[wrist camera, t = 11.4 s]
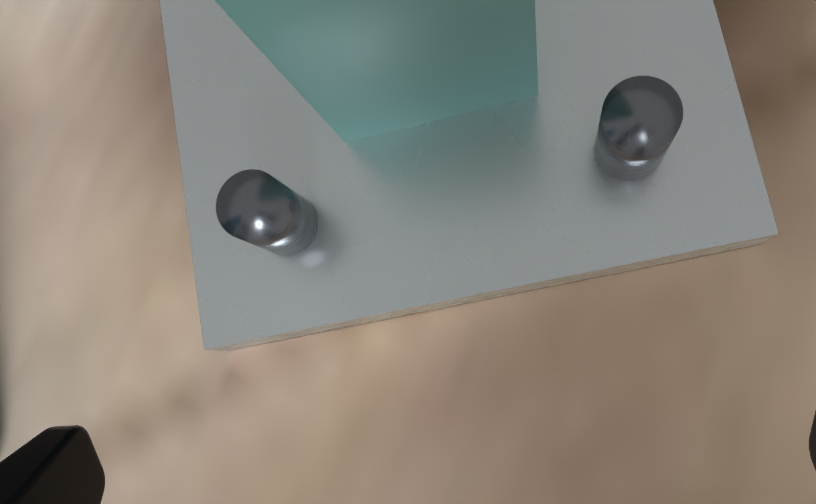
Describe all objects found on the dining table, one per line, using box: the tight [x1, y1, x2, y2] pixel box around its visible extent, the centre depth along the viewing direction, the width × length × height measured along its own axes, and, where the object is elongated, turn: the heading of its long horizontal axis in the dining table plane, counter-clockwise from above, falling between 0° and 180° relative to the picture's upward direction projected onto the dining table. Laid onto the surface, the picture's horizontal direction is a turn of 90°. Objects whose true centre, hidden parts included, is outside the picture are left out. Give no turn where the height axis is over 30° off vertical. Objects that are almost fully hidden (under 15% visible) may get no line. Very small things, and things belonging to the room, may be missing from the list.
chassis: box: [160, 0, 779, 351], centre depth 18 cm, size 14×14×4 cm
